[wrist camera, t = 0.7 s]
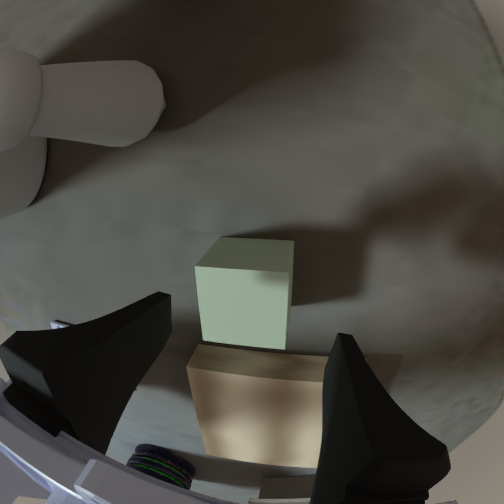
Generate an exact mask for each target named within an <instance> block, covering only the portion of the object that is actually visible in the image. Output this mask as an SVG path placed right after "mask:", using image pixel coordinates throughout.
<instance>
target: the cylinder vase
mask: <svg viewBox="0 0 504 504" xmlns="http://www.w3.org/2000/svg"><path fill="white" fill-rule="evenodd" d="M46 157H47V137H39V136H31V135H28V136H27V137H26V138H25V139H24V140H23V141H22V142H21V143H20V144H19V145H17V146H16V147H14V148H12V149H9V150H5V151H2V152H0V219H2V218H5V217H7V216H9V215H12V214H14V213H17V212H19V211H22V210H23V209H25V208H26V207H27V206H28V205H29V204H30V203H31V202H32V201H33V199H34V198H35V196H36V195H37V193H38V190H39V188H40V186H41V183H42V179H43V176H44V171H45V166H46Z"/></svg>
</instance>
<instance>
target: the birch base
mask: <svg viewBox="0 0 504 504" xmlns="http://www.w3.org/2000/svg"><path fill="white" fill-rule="evenodd" d="M328 358H329V356H311V355H296V354H283V353H271V352H261V351H251V350H242V349H234V348H226V347H218V346H211V345H204V344H198V345H197V347H196V349H195V351H194V353H193V355H192V357H191V358H190V360H189V362H188V364H187V366H186V368H187V373H188V378H189V383H190V388H191V392H192V397H193V401H194V406H195V410H196V414H197V418H198V422H199V426H200V430H201V434H202V438H203V442H204V446H205V450H206V453H207V455H212V456H217V457H222V458H228V459H233V460H240V461H246V462H253V463H261V464H269V465H279V466H290V467H305V468H317V466H318V460H319V454H320V447H321V440H322V386H323V378H324V369H325V366H326V363H327V361H328ZM365 359H366V361H367V363H368V359H367V358H365Z"/></svg>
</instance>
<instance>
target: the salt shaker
mask: <svg viewBox="0 0 504 504" xmlns="http://www.w3.org/2000/svg"><path fill="white" fill-rule="evenodd" d="M165 107H166V102H165V99H164V96H163V86H162V83H161V81H160V79H159V78H158V76H157V74H156V72H155V71H154V69H152V68H151V67H149V66H147V65H145V64H143V63H140V62H138V61H136V60H115V61H91V62H77V63H62V64H50V65H40V62H39V59H38V58H36V57H35V56H33V55H31V54H29V53H27V52H25V51H22V50H16V49H9V50H2V51H0V152H2V151H5V150H9V149H12V148H14V147H16V146H17V145H19V144H20V143H21V142H22V141H23V140H24V139H25V138H26V137H27V136H28V135H31V136H39V137H48V138H56V139H63V140H70V141H77V142H84V143H90V144H97V145H103V146H109V147H126V146H129V145H131V144H133V143H135V142H137V141H140V140H142V139H144V138H145V137H146V136H147V135H148V134H149V133H150V132H151V130H152V129H153V128H154V126H155V125H156V124H157V122H158V120H159V118H160V116H161V114H162V112H163V111H164V109H165Z"/></svg>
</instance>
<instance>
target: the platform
mask: <svg viewBox="0 0 504 504" xmlns="http://www.w3.org/2000/svg"><path fill="white" fill-rule="evenodd" d="M315 476H316V475H310V476H295V477H263V480H262V485H261V489H260V494H259V498H258V499H253V498H250V499H249V502H248V503H249V504H309V502H310V499H311V495H312V490H313V486H314V481H315Z"/></svg>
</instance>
